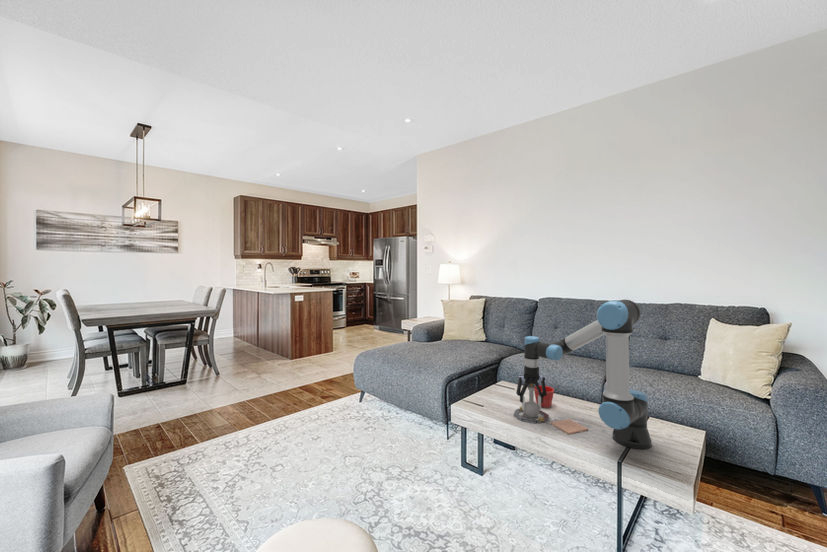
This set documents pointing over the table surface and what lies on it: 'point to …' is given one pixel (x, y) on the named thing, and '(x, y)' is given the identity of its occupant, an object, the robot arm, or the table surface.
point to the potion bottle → (531, 405)
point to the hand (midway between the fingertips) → (531, 408)
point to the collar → (540, 419)
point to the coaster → (569, 426)
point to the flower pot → (546, 399)
